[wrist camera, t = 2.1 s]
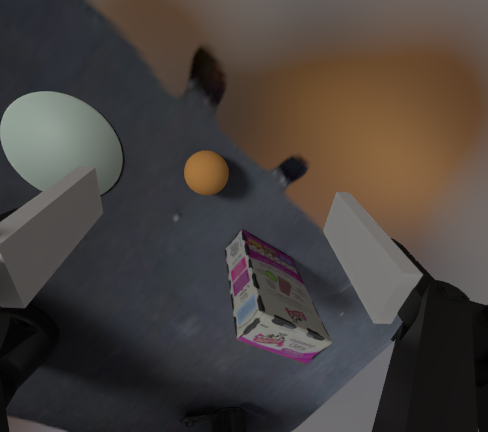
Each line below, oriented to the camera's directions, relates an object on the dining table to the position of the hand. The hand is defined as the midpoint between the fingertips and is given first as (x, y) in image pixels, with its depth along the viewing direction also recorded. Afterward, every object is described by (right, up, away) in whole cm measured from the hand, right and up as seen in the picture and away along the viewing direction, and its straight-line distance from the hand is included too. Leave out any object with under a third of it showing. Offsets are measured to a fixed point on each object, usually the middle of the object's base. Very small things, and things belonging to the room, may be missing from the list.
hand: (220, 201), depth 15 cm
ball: (-3, +5, +18) cm, 19 cm away
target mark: (-20, +7, +17) cm, 27 cm away
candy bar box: (+4, -7, +29) cm, 30 cm away
